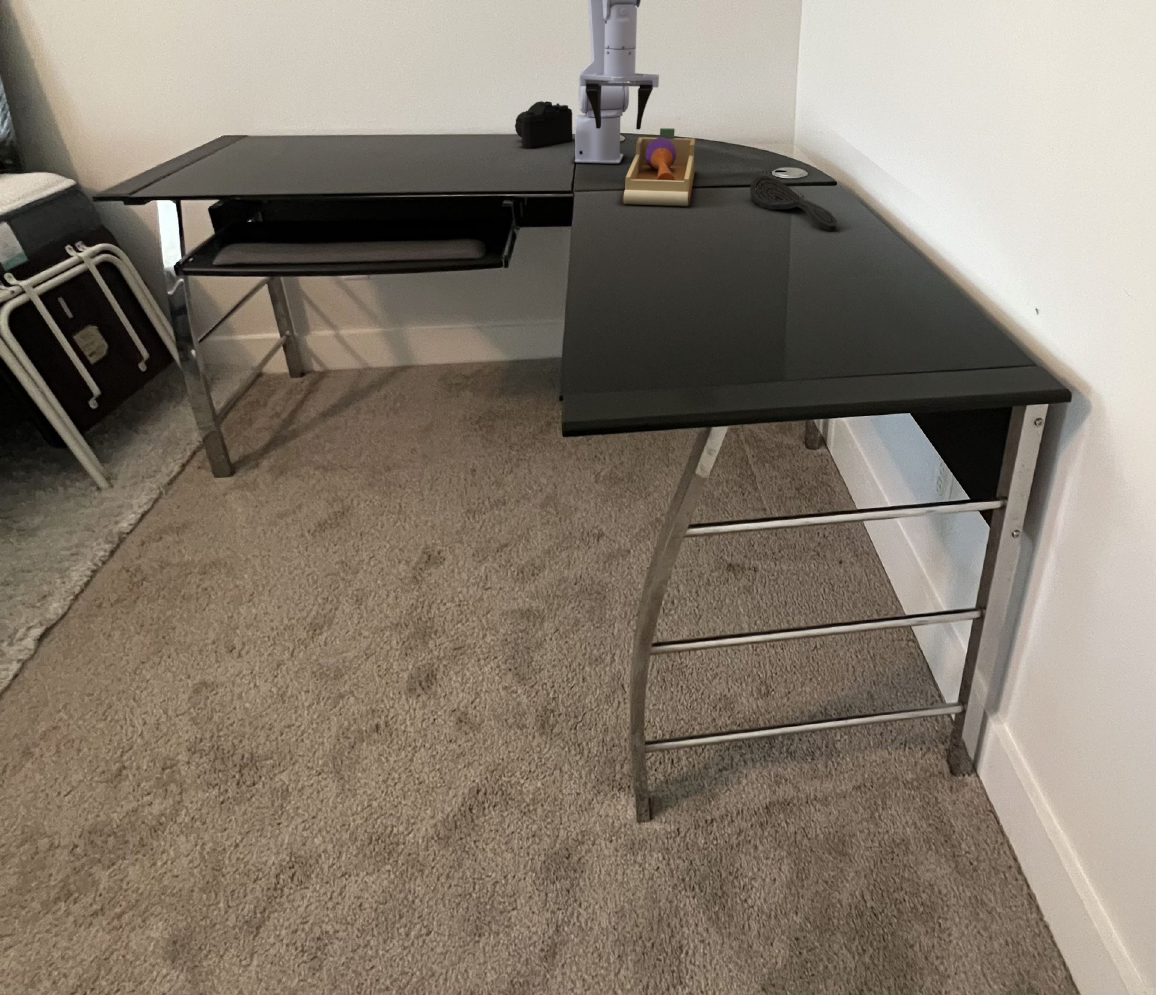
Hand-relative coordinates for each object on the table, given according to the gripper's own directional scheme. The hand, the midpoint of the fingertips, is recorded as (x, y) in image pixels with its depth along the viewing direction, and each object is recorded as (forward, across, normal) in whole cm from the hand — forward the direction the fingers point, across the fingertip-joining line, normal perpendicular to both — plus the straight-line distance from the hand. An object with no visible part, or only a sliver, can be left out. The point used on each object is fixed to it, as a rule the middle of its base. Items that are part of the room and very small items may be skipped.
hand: (618, 128), depth 161 cm
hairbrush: (+9, +33, -20) cm, 39 cm away
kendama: (+8, +9, -5) cm, 13 cm away
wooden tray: (+9, +9, -6) cm, 14 cm away
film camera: (+10, -22, +34) cm, 41 cm away
